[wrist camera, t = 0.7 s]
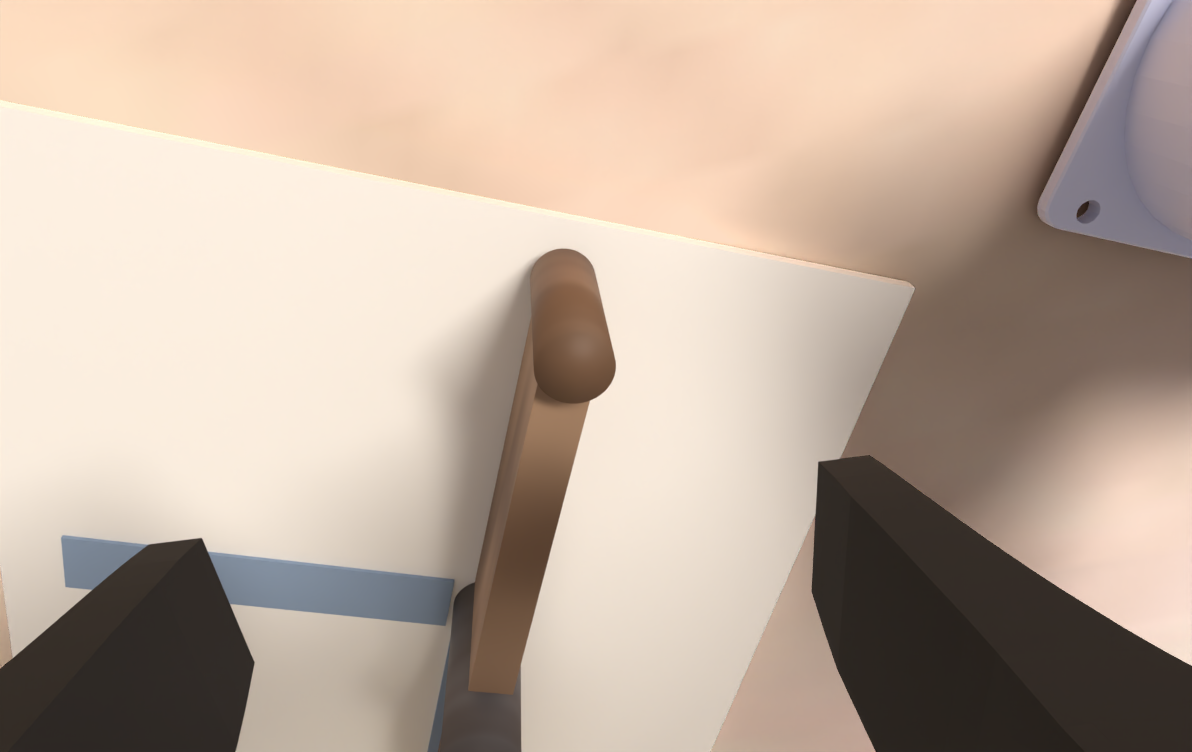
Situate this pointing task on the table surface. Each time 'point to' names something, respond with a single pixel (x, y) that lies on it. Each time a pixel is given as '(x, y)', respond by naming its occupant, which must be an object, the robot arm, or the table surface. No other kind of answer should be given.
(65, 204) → the card
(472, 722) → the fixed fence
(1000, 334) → the table surface
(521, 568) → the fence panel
